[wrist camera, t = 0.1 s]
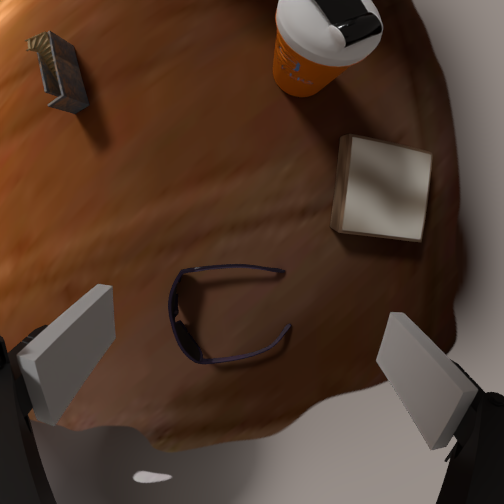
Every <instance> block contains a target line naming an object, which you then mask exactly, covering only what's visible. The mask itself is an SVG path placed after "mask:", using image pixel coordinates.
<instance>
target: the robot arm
mask: <svg viewBox="0 0 504 504" xmlns="http://www.w3.org/2000/svg"><path fill="white" fill-rule="evenodd" d="M115 338H116V337H115V324H114V309H113V289H112V286H109V285H102V284H97V285H96V286H95V287H94V288H92V289H91V290H90V291H89V292H88V293H86V294H85V295H84V296H83V297H82V298H80V299H79V300H78V301H77V302H76V303H74V304H73V305H72V306H71V307H70V308H69V309H67V310H66V311H65V312H64V313H63V314H61V315H60V316H59V317H58V318H57V319H56V320H55V321H53V322H52V323H51V324H50V325H49V326H48V325H44V326H42V327H39V328H37V329H35V330H34V331H33V332H31V333H30V334H29V335H28V337H26V338H24V339H23V340H22V342H20V343H19V344H18V345H17V346H15V347H14V348H13V349H12V350H11V351H10V352H9V353H7V350H6V346H5V342H4V339H3V337H1V336H0V504H57V503H56V501H55V498H54V496H53V493H52V491H51V488H50V485H49V482H48V480H47V477H46V474H45V471H44V468H43V465H42V462H41V459H40V456H39V452H38V449H37V445H36V442H35V438H34V434H33V430H32V426H31V422H30V419H29V417H28V413H29V412H30V410H31V409H32V408H33V410H34V413H35V415H36V418H37V420H39V421H42V422H44V423H47V424H49V425H52V426H55V425H56V423H57V422H58V420H59V419H60V417H61V416H62V414H63V413H64V411H65V410H66V408H67V407H68V405H69V404H70V402H71V401H72V399H73V398H74V396H75V395H76V393H77V392H78V391H79V389H80V388H81V386H82V385H83V383H84V382H85V380H86V379H87V377H88V376H89V375H90V373H91V372H92V370H93V369H94V367H95V366H96V365H97V363H98V362H99V360H100V359H101V358H102V356H103V355H104V353H105V352H106V351H107V349H108V348H109V346H110V345H111V344H112V342H113V341H114V340H115ZM376 361H377V363H378V364H379V366H380V367H381V369H382V371H383V372H384V374H385V375H386V377H387V379H388V380H389V382H390V383H391V385H392V387H393V388H394V390H395V391H396V393H397V395H398V396H399V397H400V399H401V401H402V403H403V404H404V406H405V407H406V409H407V411H408V413H409V414H410V416H411V417H412V419H413V421H414V422H415V424H416V426H417V427H418V429H419V431H420V433H421V434H422V436H423V438H424V439H425V441H426V443H427V444H428V446H429V448H430V449H431V450H434V449H438V448H442V447H446V446H447V445H448V443H449V441H450V440H451V438H452V437H453V435H454V436H455V438H456V439H457V442H456V444H455V446H454V447H453V449H452V450H451V452H450V453H449V455H448V456H447V458H446V459H445V462H447V461H448V459H449V458H450V462H449V465H448V468H447V472H446V475H445V478H444V482H443V485H442V488H441V491H440V493H439V496H438V499H437V502H436V504H504V396H503V395H501V394H499V393H495V392H487V393H485V392H484V391H483V390H482V389H481V388H480V387H479V385H478V384H477V383H476V382H475V381H474V380H473V379H472V378H470V376H469V375H468V374H467V373H466V372H465V371H464V370H463V369H462V368H461V366H459V364H457V363H455V362H454V361H452V360H451V359H449V358H448V357H447V356H446V355H445V354H444V353H443V352H442V351H441V350H440V349H439V348H438V347H437V346H436V345H435V344H434V342H433V341H432V340H431V339H430V338H429V337H428V336H427V335H426V334H425V333H424V332H423V331H422V330H421V329H420V328H419V327H418V326H417V325H416V324H414V323H413V322H412V321H411V320H410V319H409V318H408V317H407V316H406V315H405V314H404V313H396V312H390V316H389V319H388V323H387V327H386V330H385V333H384V337H383V340H382V343H381V347H380V350H379V353H378V356H377V359H376Z"/></svg>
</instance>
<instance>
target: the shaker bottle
mask: <svg viewBox="0 0 504 504" xmlns="http://www.w3.org/2000/svg"><path fill="white" fill-rule="evenodd" d="M275 19H276V26H277V34H276V43H275V53H274V62H273V77H274V80H275V82H276V83H277V85H278V86H279V87H280V88H281V89H282V90H283V91H284V92H286V93H288V94H289V95H292V96H296V97H308V96H312V95H314V94H316V93H317V92H319V91H320V90H321V89H323V88H324V87H325V86H326V85H327V84H329V83H330V82H331V81H332V80H334V79H335V78H336V77H337V76H339V75H340V74H341V73H342V72H344V71H345V70H346V69H348V68H349V67H350V66H351V65H354V64H357V63H359V62H360V61H362V60H364V59H365V58H366V57H367V56H368V55H369V54H370V53H371V52H372V51H373V50H374V49H375V48H376V47H377V45H378V43H379V42H380V39H381V36H382V31H383V24H382V21H381V17H380V15H379V12H378V10H377V8H376V7H375V5H374V4H373V2H372V1H371V0H279V2H278V7H277V9H276V16H275Z"/></svg>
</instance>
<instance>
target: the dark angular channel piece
mask: <svg viewBox="0 0 504 504" xmlns="http://www.w3.org/2000/svg"><path fill="white" fill-rule="evenodd" d="M25 41H28V48H29V49H27V50H26V51H29V50H31V51H36V52H37V54H38V60H39V65H40V71H41V75H42V80H43V85H44V89H45V90H44V91H45V92H46V93H49V94H52V95H55V96H58V98H56V99H55V100H53V101H52V102H50V103H49V104H48V107H52V108H56V109H59V110H63V111H66V112H70V113H73V114H76V113H78V112H79V111H81V110H83V109H84V108H86V107H88V106H89V101H88V98H87V95H86V91H85V88H84V84H83V80H82V77H81V73H80V69H79V66H78V62H77V58H76V54H75V50H74V46H73V45H71V44H70V43H68V42H67V41H65V40H64V39H62V38H61V37H59V36H57V35H56V34H54V33H53V32H51V31H48V32H43V33H41V34H39V35H36V36H34V37H32V38H29V39H27V40H25Z"/></svg>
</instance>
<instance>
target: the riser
mask: <svg viewBox="0 0 504 504" xmlns="http://www.w3.org/2000/svg"><path fill="white" fill-rule="evenodd" d="M432 155H433V153H432V152H428V151H425V150H421V149H417V148H413V147H409V146H405V145H401V144H397V143H393V142H388V141H384V140H379V139H375V138H370V137H365V136H360V135H355V134H350V133H349V134H347V135H344V136H341V137H340V142H339V153H338V163H337V173H336V182H335V191H334V199H333V207H332V215H331V223H330V227H331V228H332V229H334V230H335V231H337V232H338V233H346V234H355V235H364V236H373V237H381V238H389V239H398V240H406V241H414V242H421V240H422V235H423V229H424V223H425V216H426V209H427V202H428V194H429V186H430V177H431V167H432Z"/></svg>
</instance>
